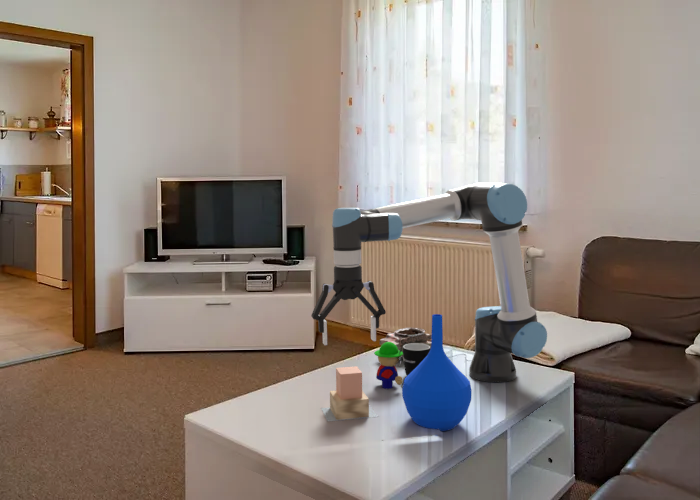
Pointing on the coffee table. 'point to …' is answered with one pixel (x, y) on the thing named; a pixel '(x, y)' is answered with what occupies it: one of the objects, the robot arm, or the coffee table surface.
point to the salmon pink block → (349, 382)
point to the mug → (414, 355)
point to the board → (331, 417)
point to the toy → (389, 364)
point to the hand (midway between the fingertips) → (349, 342)
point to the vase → (436, 387)
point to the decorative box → (407, 337)
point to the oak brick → (349, 406)
